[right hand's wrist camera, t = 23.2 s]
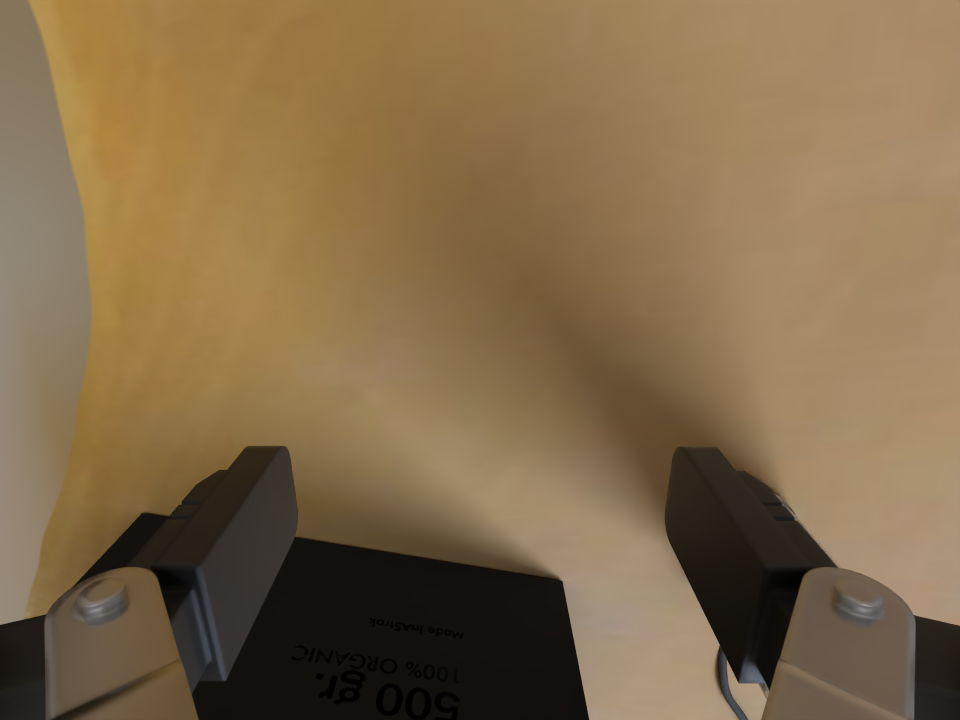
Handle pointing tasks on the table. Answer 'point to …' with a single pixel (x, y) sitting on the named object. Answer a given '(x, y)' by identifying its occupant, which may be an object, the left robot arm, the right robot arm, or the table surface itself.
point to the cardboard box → (391, 640)
